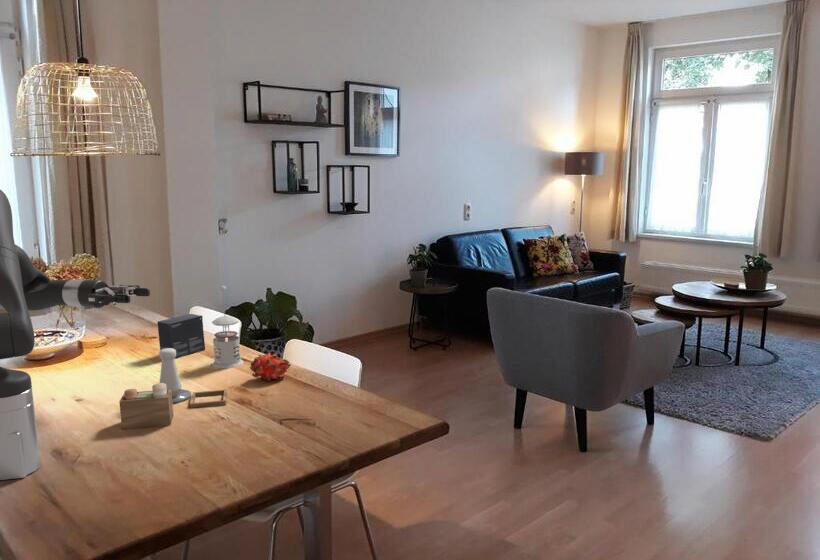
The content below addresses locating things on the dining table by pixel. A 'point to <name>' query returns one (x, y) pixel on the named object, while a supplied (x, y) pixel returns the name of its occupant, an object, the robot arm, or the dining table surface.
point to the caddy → (146, 407)
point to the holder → (211, 403)
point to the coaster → (182, 396)
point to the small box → (182, 334)
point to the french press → (226, 349)
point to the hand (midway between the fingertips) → (139, 295)
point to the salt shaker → (170, 371)
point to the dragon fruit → (269, 366)
